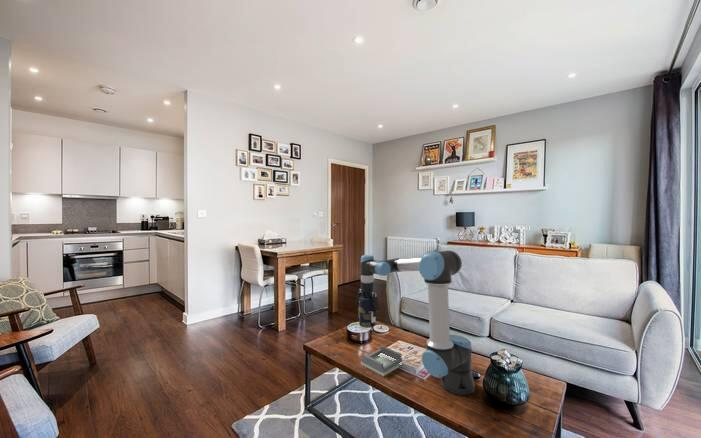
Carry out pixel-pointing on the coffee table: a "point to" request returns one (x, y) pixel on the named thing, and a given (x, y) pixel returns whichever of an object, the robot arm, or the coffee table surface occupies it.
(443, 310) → the robot arm
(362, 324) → the canister
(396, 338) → the coffee table surface
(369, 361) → the grey square tray
